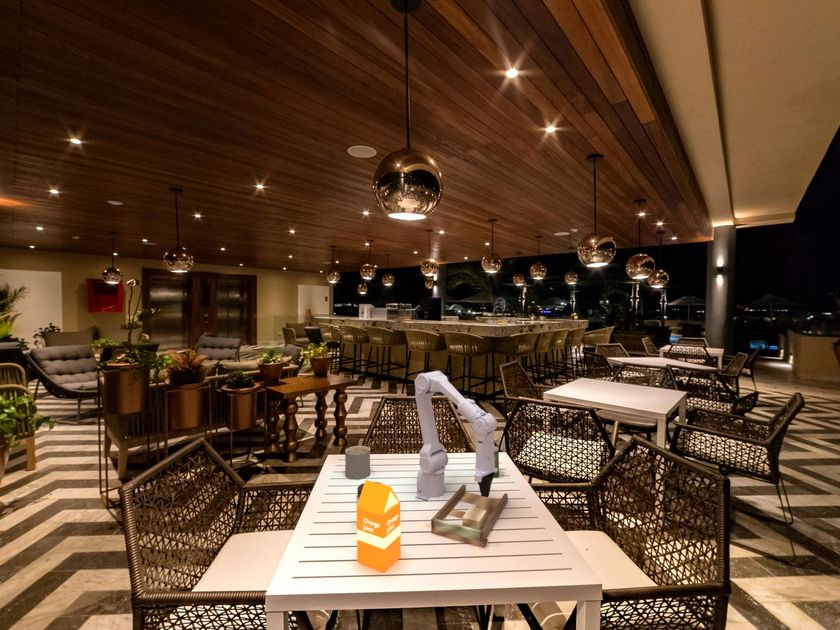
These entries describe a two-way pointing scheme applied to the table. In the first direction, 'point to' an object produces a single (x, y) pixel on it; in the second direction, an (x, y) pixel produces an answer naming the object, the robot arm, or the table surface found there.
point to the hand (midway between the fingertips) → (485, 495)
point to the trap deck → (460, 531)
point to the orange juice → (378, 527)
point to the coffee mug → (357, 462)
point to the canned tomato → (496, 460)
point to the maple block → (475, 518)
